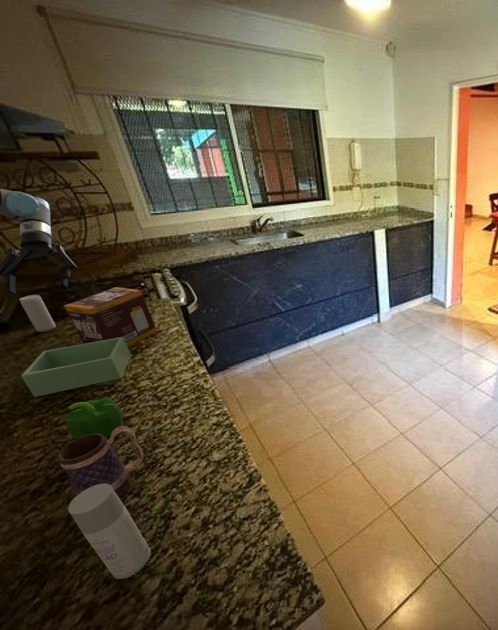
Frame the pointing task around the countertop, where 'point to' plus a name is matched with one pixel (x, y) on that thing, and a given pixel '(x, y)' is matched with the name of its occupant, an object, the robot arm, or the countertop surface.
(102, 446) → the mug
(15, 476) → the countertop surface
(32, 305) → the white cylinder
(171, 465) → the countertop surface
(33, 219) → the robot arm
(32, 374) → the basin
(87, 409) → the bell pepper
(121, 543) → the container
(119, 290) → the supplement box
